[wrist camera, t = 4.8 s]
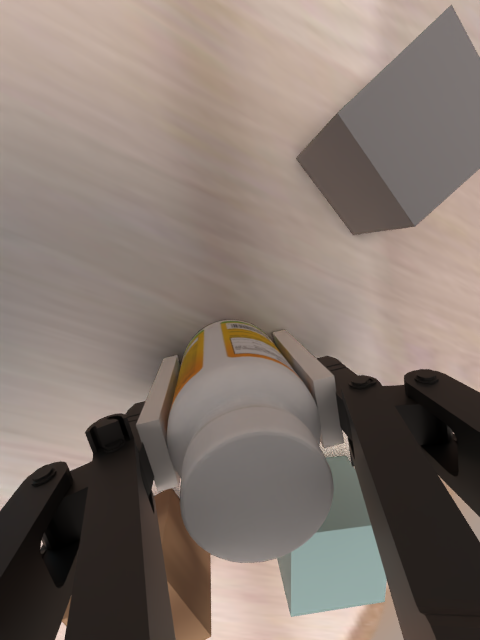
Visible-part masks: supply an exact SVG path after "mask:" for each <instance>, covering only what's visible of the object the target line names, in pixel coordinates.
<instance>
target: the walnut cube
mask: <svg viewBox="0 0 480 640" xmlns="http://www.w3.org/2000/svg"><path fill="white" fill-rule="evenodd" d="M154 499H155V503H156V510H157V517H158V523H159V530H160V537H161V544H162V550H163V557H164V564H165V571H166V577H167V584H168V591H169V597H170V604H171V611H172V618H173V624H174V631H175V638H176V640H205V639H207V638H209V637H211V568H210V553H208V552H207V551H205V550H204V549H203V548H201V547H200V546H199V545H198V544H197V543H196V542H195V541H194V540H193V539H192V537H191V536H190V535H189V533H188V531H187V530H186V528H185V525H184V523H183V519H182V516H181V510H180V499H179V497H178V496H177V494H176V493H175V492H174V490H173V489H172V488H171V489H167V490H165V491H163V492H161V493H159V494H157V495H155V496H154ZM70 602H71V598H70V600H69V603H68V606H67V608H66V611H65V614H64V616H63V619H62V622H63V623H64V624H65V625H66V626H67V621H68V615H69V608H70Z"/></svg>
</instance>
